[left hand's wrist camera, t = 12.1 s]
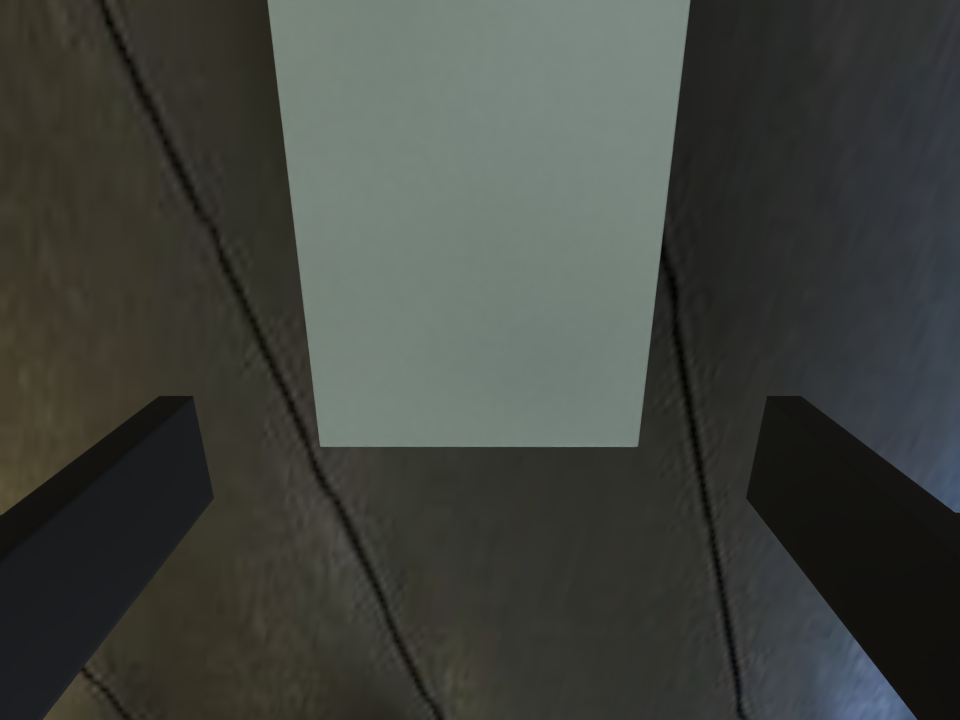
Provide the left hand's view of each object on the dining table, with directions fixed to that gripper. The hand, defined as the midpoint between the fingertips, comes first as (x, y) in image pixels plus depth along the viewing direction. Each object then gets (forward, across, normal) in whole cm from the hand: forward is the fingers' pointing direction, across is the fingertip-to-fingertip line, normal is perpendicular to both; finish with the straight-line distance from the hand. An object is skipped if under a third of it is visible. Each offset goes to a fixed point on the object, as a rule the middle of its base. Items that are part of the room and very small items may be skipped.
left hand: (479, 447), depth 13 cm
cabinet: (+17, 0, -5) cm, 18 cm away
